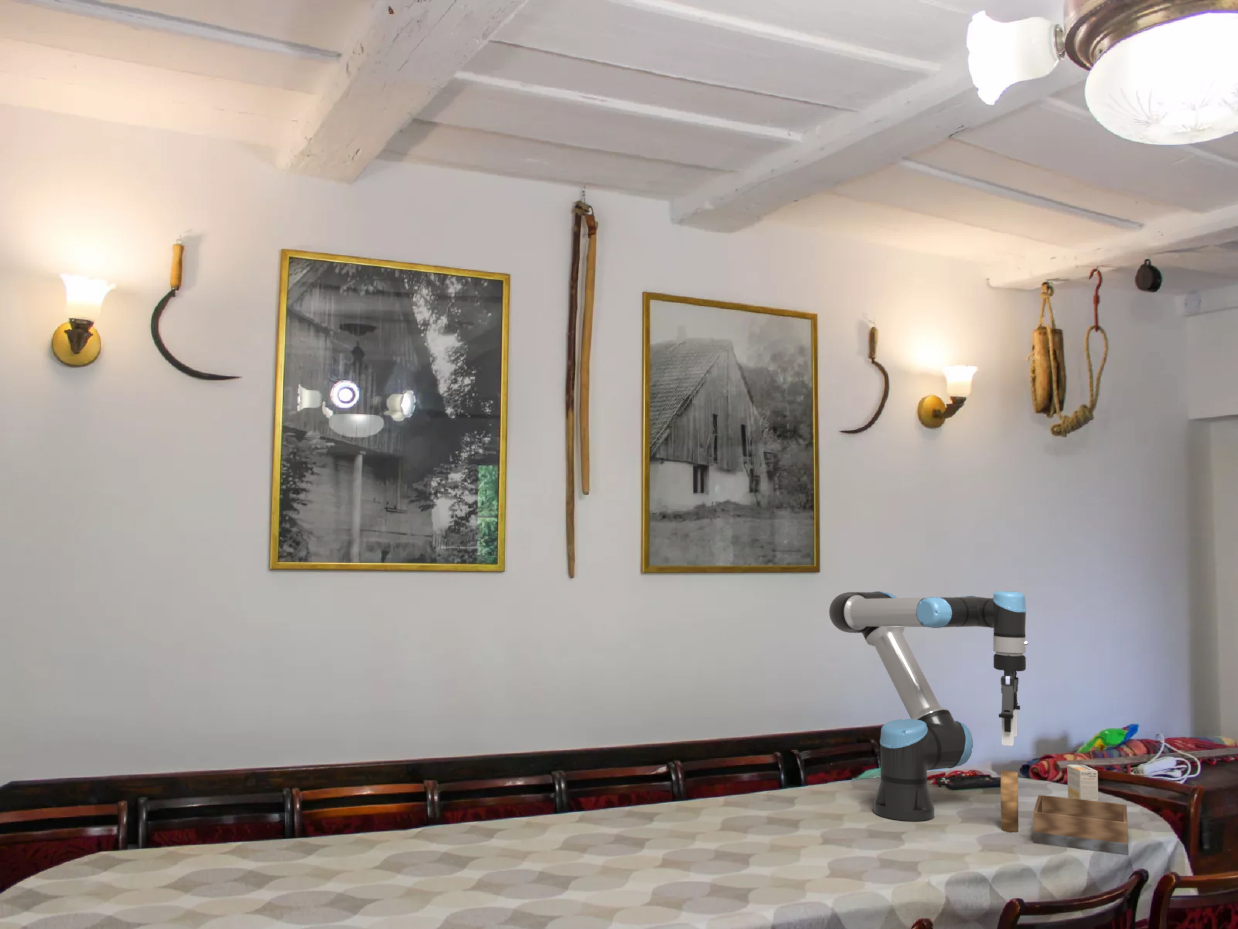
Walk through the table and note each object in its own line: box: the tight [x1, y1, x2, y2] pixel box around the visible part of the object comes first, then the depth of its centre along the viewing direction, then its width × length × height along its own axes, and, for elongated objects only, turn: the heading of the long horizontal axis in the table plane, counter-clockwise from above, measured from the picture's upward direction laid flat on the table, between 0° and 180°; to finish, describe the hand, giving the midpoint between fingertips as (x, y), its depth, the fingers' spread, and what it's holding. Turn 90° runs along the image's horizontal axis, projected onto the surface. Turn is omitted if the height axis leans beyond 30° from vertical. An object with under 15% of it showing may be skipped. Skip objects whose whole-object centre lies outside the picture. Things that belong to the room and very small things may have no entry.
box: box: [1032, 794, 1129, 856], centre depth 249 cm, size 20×20×7 cm
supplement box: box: [1066, 764, 1099, 801], centre depth 268 cm, size 8×5×13 cm, turn 179°
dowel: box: [1000, 769, 1019, 833], centre depth 256 cm, size 4×4×14 cm
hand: (1009, 740), depth 257 cm, fingers open, 13 cm apart
